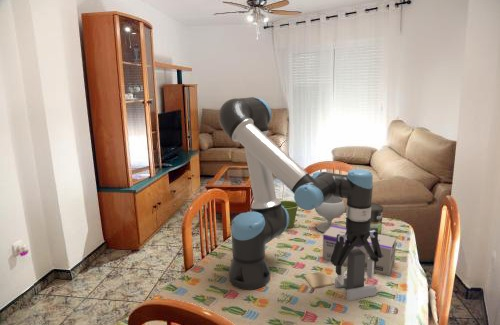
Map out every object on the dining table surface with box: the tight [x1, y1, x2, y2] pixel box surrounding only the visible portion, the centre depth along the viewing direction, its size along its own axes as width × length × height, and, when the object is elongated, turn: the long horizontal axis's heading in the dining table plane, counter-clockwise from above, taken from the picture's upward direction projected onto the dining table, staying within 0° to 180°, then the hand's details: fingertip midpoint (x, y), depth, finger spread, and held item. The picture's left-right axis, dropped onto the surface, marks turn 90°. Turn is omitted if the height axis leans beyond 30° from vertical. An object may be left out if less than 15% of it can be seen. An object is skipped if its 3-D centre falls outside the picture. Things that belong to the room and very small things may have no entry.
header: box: [334, 275, 377, 302], centre depth 112 cm, size 10×9×3 cm
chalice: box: [314, 196, 346, 234], centre depth 160 cm, size 14×14×15 cm
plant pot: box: [280, 200, 299, 229], centre depth 165 cm, size 12×12×11 cm
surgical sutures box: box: [322, 225, 397, 277], centre depth 130 cm, size 25×11×11 cm, turn 57°
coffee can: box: [370, 202, 384, 235], centre depth 152 cm, size 10×10×14 cm
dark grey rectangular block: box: [345, 249, 366, 290], centre depth 111 cm, size 4×4×14 cm
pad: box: [302, 271, 335, 289], centre depth 119 cm, size 8×8×1 cm
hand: (355, 279), depth 112 cm, fingers open, 10 cm apart
